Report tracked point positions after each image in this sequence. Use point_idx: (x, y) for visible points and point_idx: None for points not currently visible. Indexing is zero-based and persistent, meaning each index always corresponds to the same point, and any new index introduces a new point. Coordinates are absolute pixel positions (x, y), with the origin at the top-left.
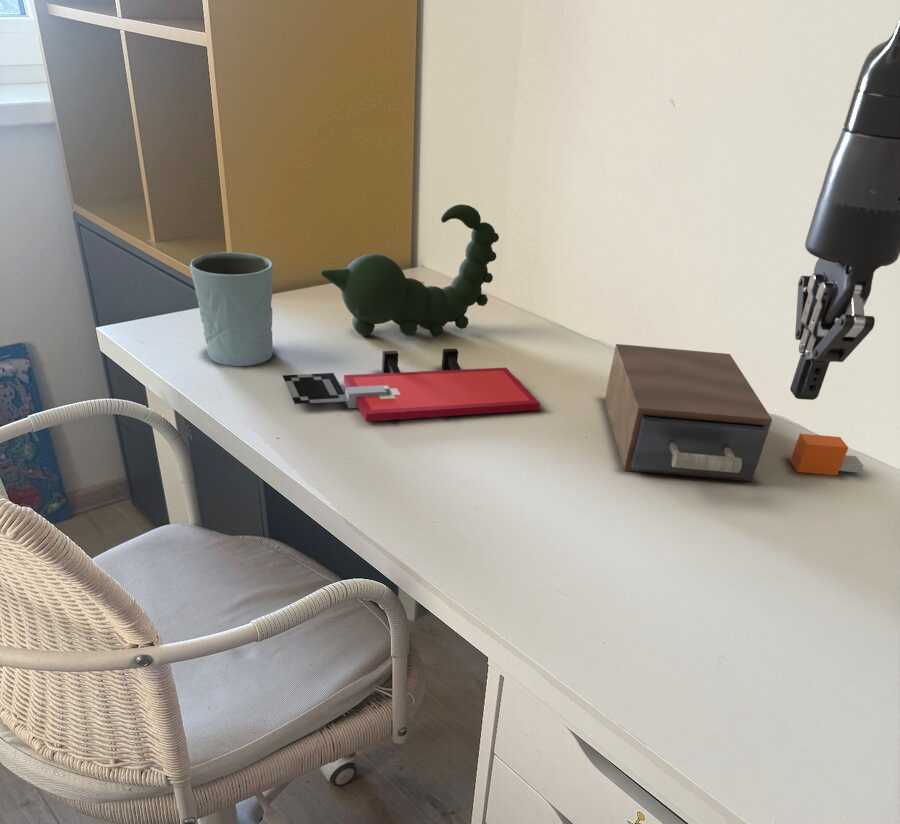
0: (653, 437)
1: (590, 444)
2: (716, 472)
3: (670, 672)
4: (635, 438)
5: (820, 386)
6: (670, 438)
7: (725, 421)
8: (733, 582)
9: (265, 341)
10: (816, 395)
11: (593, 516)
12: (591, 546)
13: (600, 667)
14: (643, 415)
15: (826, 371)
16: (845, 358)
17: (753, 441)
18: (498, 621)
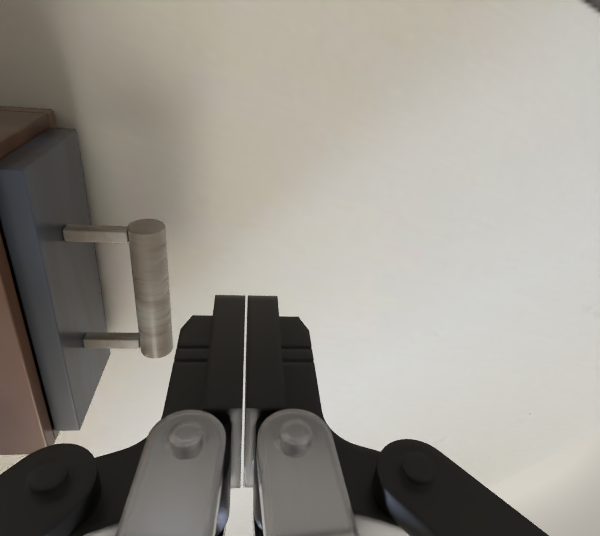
0: (87, 382)
1: None
2: (87, 215)
3: (593, 363)
4: None
5: (277, 324)
6: (81, 355)
7: (10, 276)
8: (439, 255)
9: None
10: (297, 317)
11: None
12: (342, 410)
13: (565, 418)
14: (53, 430)
15: (282, 370)
16: (459, 469)
17: (42, 186)
18: None
